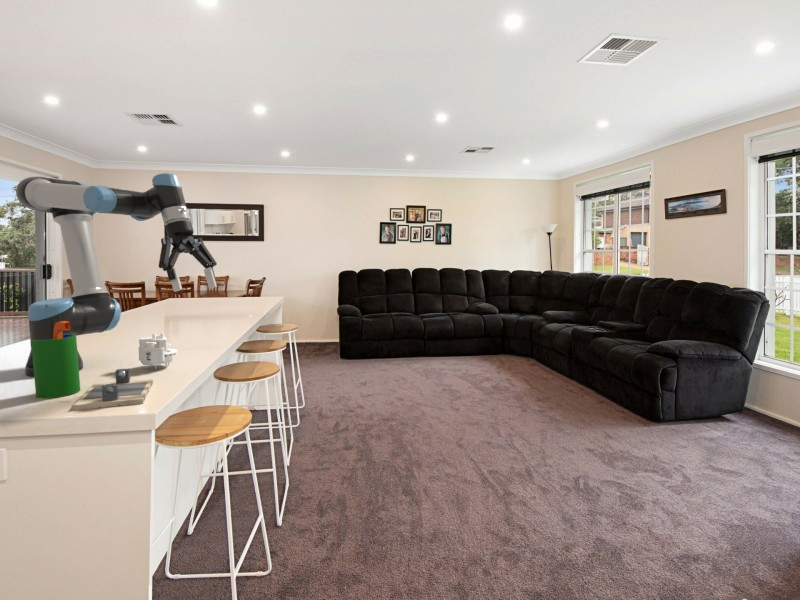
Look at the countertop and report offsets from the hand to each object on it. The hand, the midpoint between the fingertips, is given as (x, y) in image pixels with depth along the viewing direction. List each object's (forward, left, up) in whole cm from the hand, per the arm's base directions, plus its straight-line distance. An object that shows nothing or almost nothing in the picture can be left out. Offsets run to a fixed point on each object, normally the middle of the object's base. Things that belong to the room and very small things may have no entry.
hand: (196, 289), depth 141 cm
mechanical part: (-18, -13, -28) cm, 36 cm away
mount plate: (+12, -20, -28) cm, 36 cm away
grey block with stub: (+4, -20, -27) cm, 34 cm away
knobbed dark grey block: (+20, -20, -27) cm, 39 cm away
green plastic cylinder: (+5, -35, -28) cm, 45 cm away
